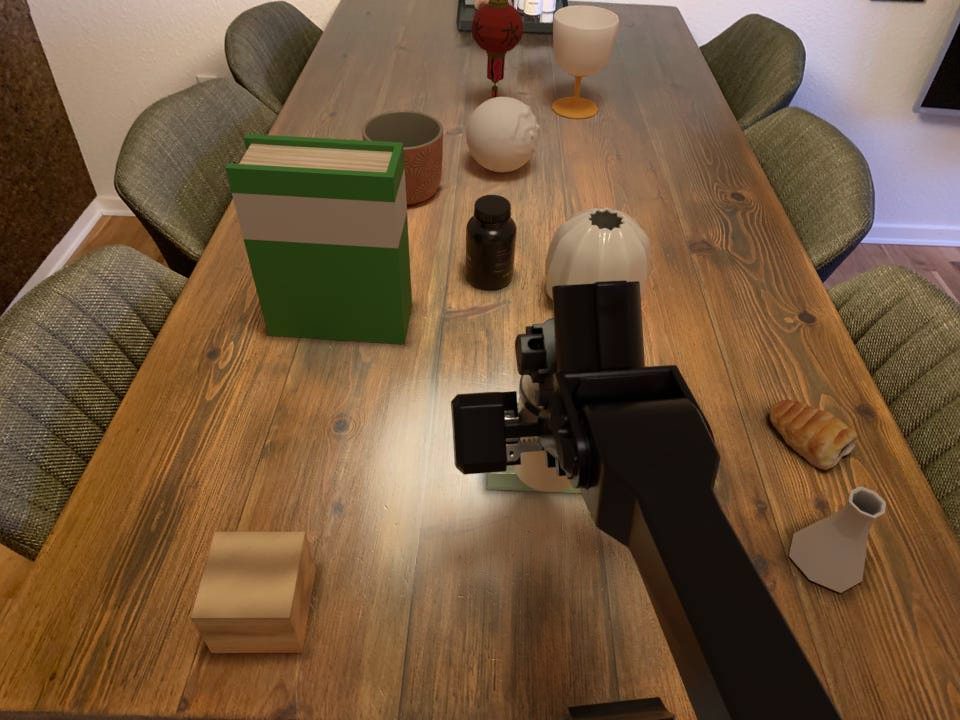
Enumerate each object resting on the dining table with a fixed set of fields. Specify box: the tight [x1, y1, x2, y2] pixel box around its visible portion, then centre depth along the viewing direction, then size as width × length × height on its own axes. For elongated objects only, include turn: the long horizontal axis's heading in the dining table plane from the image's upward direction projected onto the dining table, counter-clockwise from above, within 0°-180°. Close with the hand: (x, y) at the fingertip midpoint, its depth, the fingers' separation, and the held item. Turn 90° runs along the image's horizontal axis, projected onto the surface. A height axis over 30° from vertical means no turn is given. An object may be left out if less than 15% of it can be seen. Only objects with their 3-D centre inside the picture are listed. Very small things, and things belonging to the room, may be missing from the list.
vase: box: [544, 206, 652, 304], centre depth 93 cm, size 14×14×13 cm
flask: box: [788, 485, 887, 594], centre depth 67 cm, size 7×7×10 cm
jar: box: [514, 375, 571, 493], centre depth 64 cm, size 7×7×11 cm
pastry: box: [769, 399, 858, 471], centre depth 80 cm, size 9×7×4 cm
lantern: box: [470, 0, 524, 99], centre depth 127 cm, size 10×10×30 cm
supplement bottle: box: [464, 194, 518, 291], centre depth 97 cm, size 7×7×12 cm
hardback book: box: [224, 133, 413, 345], centre depth 85 cm, size 18×7×24 cm, turn 86°
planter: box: [361, 109, 444, 205], centre depth 112 cm, size 12×12×11 cm
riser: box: [190, 531, 317, 654], centre depth 63 cm, size 8×8×7 cm
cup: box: [551, 4, 620, 120], centre depth 132 cm, size 12×12×17 cm
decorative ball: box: [465, 96, 541, 173], centre depth 118 cm, size 12×12×12 cm
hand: (549, 418), depth 65 cm, fingers closed on jar, 6 cm apart
